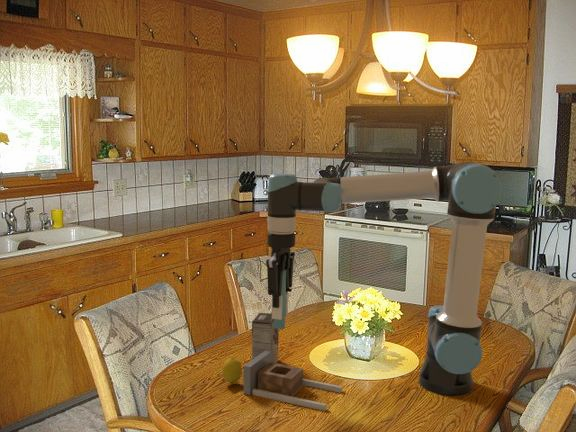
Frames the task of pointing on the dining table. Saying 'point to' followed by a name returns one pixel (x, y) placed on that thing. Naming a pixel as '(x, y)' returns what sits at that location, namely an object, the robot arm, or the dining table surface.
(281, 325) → the dowel
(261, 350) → the coffee box
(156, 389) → the dining table surface
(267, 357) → the slide base
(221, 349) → the dining table surface
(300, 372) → the socket block
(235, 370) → the lemon
